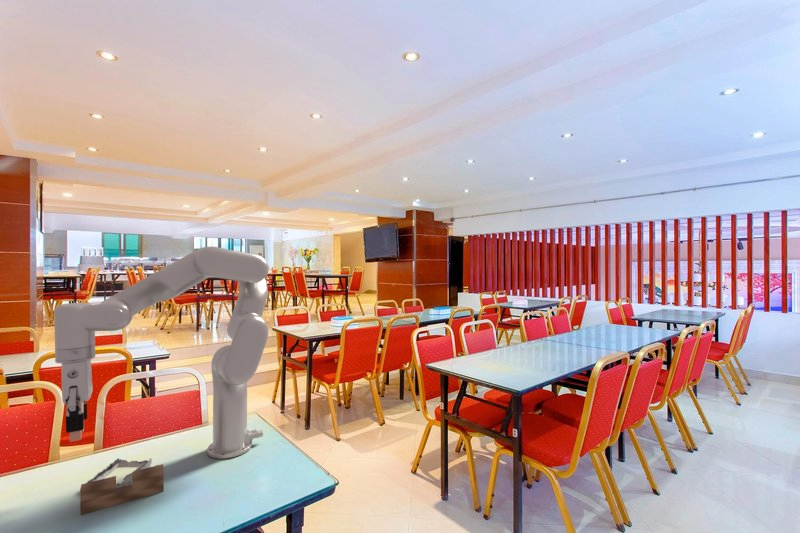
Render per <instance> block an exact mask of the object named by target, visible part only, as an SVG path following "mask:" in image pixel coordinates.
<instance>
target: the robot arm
mask: <svg viewBox="0 0 800 533" xmlns="http://www.w3.org/2000/svg"><path fill="white" fill-rule="evenodd" d="M269 272H270V271H269V264H268V262H267V260H266V259H265V258H264V257H263V256H260V255H259V254H254V253H249V252H243V251H238V250H233V249H227V248H222V247H218V246H204V247H200V248H197V249H196V250H194V251H192V252H190V253H188V254H186V255H184V256H183V257H181V258H179V259H177V260H176V261H174V262H172V263H170V264H168V265H166V266H165V267H163V268H161V269H159V270H157V271H155V272H154V273H151V274H150V275H148V276H147V277H145V278H143V279H142V280H140V281H138V282H136V283H134V284H132V285H130V286H128V287H127V288H126V287H125V289H123V290H121V291H119V292H117V293H115V294H114V295H112V296H110V297H108V298H105V300H103V301H101V302H100V303H96V304H94V303H93V304H92V303H90V302H70V303H62V304H59V305H57V306H56V307H55V308H54V312H53V317H54V318H53V321H54V322H53V323H54V326H53V327H54V354H55V355H54V357H55V358H54V362H55V363H56V364H61V371H60V372H61V397H62V398H61V399H62V400H61V401H62V403H63V404H64V405H66V413H65V414H66V416H65V432H66V433H67V434H70V432H75V431H80V430H83V429H84V430H85V420H87V419H88V403H87V402H89V400H90V399H91V396H92V393H93V374H92V371H93V370H92V361H91V360H93V359H95V358H96V332H116V331H121V330H123V329H125V328H126V327H128V326H129V325H130V323H131V322H132V319H133V317H134V316H136V314H138V313H141V312H143V311H144V310H146V309H147V308H149V307H151V306H153V305H156V304H157V303H161V302H165V301H168V300H172V299H174V298H177V297H178V296H180V295H182V294H183V293H186V292H187V291H188V290H190V289H191V288H193V287H195V286H196V285H198V284H200V283H202V282H204V281H205V280H207V279H209V278H210V277H214V278H217V279H223V280H231V281H236V282H237V284H238V287H239V290H238V291H239V292H238V297H237V300H236V302H235V305H234V308H233V310H232V313H231V317H230V319H229V321H228V322H227V323H228V324H227V328H226V333H227V335H228V336H229V338H230V339H231V343H230V344H229V345H223V346H221V347H219V348H218V349H217V350H216V352H214V354H213V356H212V359H211V365H210V366H211V377H212V397H213V399H212V442H211V443H210V444H209V445H208V446H207V449H206V451H207V452H206V453H207V455H208V457H210V458H213V459H219V460H221V459H222V460H223V459H230V458H231V459H232V458H235V457H238V456H241V455H243V454H245V453H246V452H248V451H249V450H250V449H251V448H252V446H253V440H254V439H258V438H263V437H264V432H263V430H257V429H252V430H248V382H249V381H250V380H251V379H252V378H253V377H254V375H255V374H256V372H257V369H258V367H259V364H260V361H261V359H262V355H263V353H264V351H265V346H266V345H267V341H268V336H269V325H268V323H267V322H266V320H265V319H264V318H263V314H264V310H265V307H266V304H267V300H268V292H269V289H268V284H267V280H266V277H267V276H268V274H269ZM79 399H80V401H76V400H79ZM82 401H83V402H84V413H82ZM76 404H79V407H78V405H77V406H76Z"/></svg>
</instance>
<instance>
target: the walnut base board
mask: <svg viewBox="0 0 800 533" xmlns="http://www.w3.org/2000/svg"><path fill="white" fill-rule="evenodd" d="M164 468H165V467H164V463H162V464H158V465H154V466H150V467H149V468H145V469H141V470H137V471H135V470H133V471H132V472H131V473H132V481H131V483H130V484H126V485H125V486H122V487H119V488H116V486H117V475H113V476H110V477H105V478H104V479H101V480H97V481H93V482H89V483H86V482H85V483H82V484H81V486H80V491H79V492H80V494H79V496H80V497H79V498H80V503H79V504H80V510H79V512H80V513H79V514H80V516H82V515H84V514H90V513H93V512H96V511H99V510H103V509H107V508H110V507H113V506H117V505H120V504H124V503H127V502H131V501H134V500H139V499H141V498H145V497H149V496H152V495H155V494H159V493H162V492H164V480H165V479H164V474H165V472H164Z"/></svg>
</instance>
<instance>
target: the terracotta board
mask: <svg viewBox="0 0 800 533" xmlns="http://www.w3.org/2000/svg"><path fill="white" fill-rule="evenodd" d="M76 401H80V399H79V400H76ZM84 404H85V403H84V402H83V401H82V413H84ZM77 405H78V407H79V404H76V406H77ZM84 430H85V428H84V429H83V430H80V431H75V432H70V433H69V442H70V443H72V442H77V441H81V440H82V433H84Z"/></svg>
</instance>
